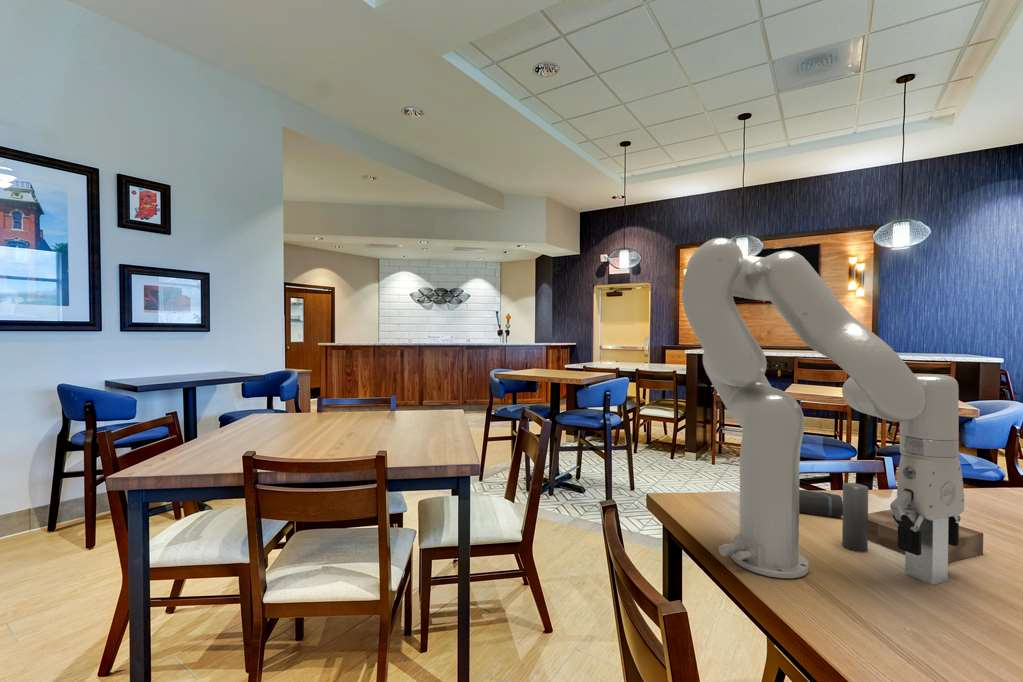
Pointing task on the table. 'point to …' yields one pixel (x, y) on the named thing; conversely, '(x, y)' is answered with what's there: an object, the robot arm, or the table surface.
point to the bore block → (886, 534)
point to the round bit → (855, 517)
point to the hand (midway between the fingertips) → (928, 547)
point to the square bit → (930, 552)
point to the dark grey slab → (820, 503)
